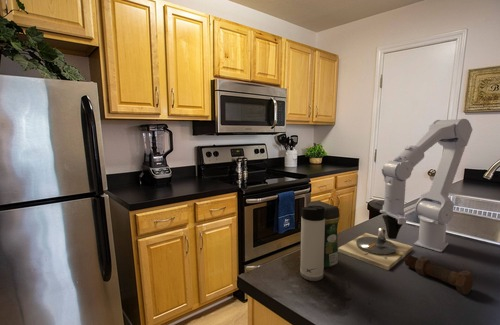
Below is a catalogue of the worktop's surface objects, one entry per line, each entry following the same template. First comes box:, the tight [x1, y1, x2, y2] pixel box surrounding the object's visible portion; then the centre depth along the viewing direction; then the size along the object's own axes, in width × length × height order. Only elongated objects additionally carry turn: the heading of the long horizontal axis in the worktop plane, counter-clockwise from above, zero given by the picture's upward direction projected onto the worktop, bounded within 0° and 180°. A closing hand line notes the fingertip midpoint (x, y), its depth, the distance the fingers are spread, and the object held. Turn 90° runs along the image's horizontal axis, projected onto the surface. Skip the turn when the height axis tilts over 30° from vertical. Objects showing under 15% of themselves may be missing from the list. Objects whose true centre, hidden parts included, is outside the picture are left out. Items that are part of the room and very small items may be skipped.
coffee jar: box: [307, 200, 341, 268], centre depth 79 cm, size 10×8×19 cm
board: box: [338, 232, 414, 271], centre depth 87 cm, size 20×16×2 cm
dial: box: [356, 227, 396, 255], centre depth 87 cm, size 12×12×5 cm
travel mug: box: [299, 206, 325, 282], centre depth 71 cm, size 6×7×20 cm
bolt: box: [404, 255, 474, 295], centre depth 70 cm, size 6×5×15 cm
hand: (391, 238), depth 86 cm, fingers closed
